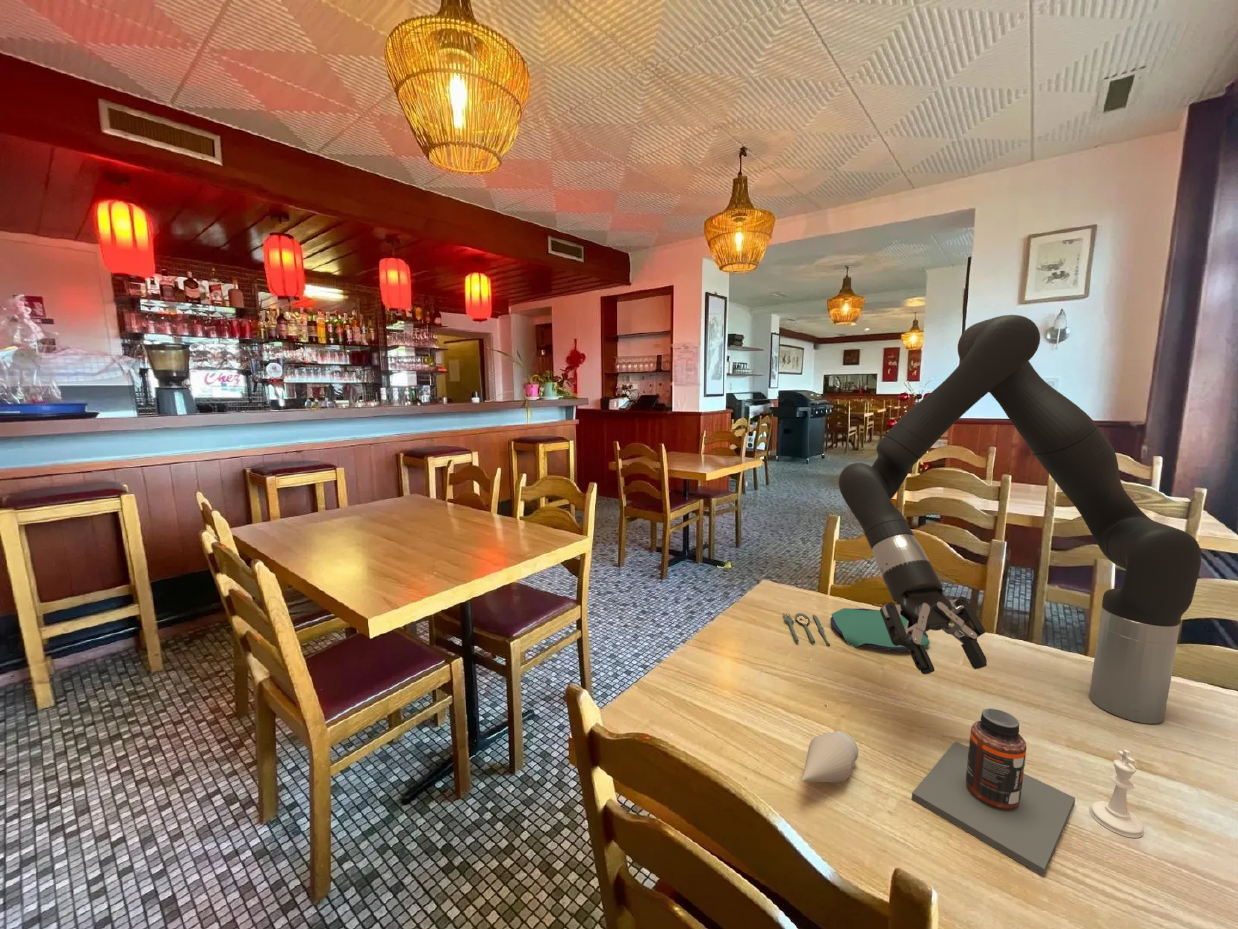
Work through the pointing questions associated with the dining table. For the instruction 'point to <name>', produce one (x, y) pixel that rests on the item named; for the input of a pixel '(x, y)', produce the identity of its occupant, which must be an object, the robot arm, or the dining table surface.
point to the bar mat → (998, 811)
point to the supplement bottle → (996, 759)
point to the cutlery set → (857, 628)
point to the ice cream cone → (830, 757)
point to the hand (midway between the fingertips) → (955, 670)
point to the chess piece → (1119, 801)
